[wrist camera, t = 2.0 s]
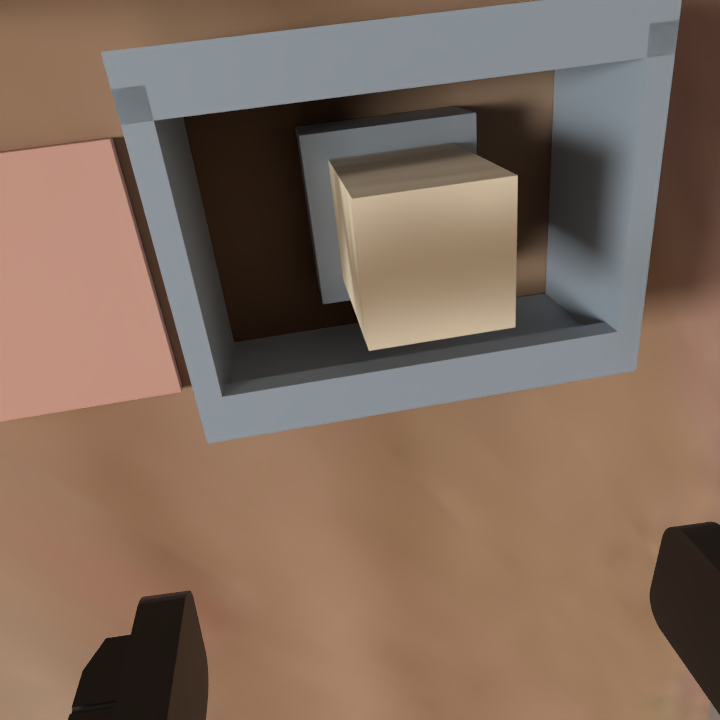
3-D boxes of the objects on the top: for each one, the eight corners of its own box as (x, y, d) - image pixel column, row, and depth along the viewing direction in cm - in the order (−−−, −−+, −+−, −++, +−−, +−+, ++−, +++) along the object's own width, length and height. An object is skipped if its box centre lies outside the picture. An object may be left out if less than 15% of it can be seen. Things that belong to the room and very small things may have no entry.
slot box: (141, 50, 24) (100, 52, 18) (580, -2, 25) (683, -17, 19) (218, 363, 30) (207, 443, 24) (563, 307, 32) (635, 370, 26)
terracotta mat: (-117, 167, 24) (-124, 169, 24) (112, 137, 25) (109, 139, 25) (-2, 416, 30) (-6, 422, 30) (182, 386, 31) (181, 391, 30)
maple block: (328, 159, 24) (352, 198, 18) (452, 142, 24) (517, 175, 18) (343, 279, 26) (368, 351, 20) (456, 262, 27) (515, 327, 20)
